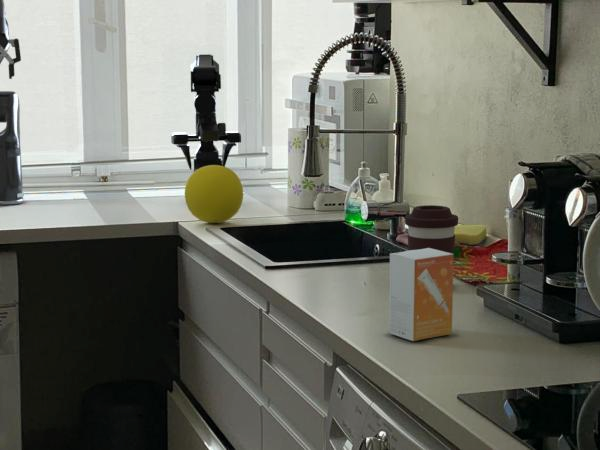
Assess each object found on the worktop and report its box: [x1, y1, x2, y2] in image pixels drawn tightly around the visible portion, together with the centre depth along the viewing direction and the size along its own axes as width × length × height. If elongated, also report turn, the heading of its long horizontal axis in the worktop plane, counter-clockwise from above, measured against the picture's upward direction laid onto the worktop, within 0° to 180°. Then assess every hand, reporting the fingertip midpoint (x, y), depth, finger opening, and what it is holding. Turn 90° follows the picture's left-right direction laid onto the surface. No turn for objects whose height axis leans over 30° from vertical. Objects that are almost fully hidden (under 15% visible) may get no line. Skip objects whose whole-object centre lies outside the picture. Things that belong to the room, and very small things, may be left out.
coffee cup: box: [404, 204, 459, 255], centre depth 197 cm, size 10×10×15 cm
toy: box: [184, 165, 244, 224], centre depth 272 cm, size 15×15×15 cm
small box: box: [388, 248, 455, 342], centre depth 164 cm, size 8×6×13 cm
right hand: (206, 169), depth 290 cm, fingers open, 9 cm apart
